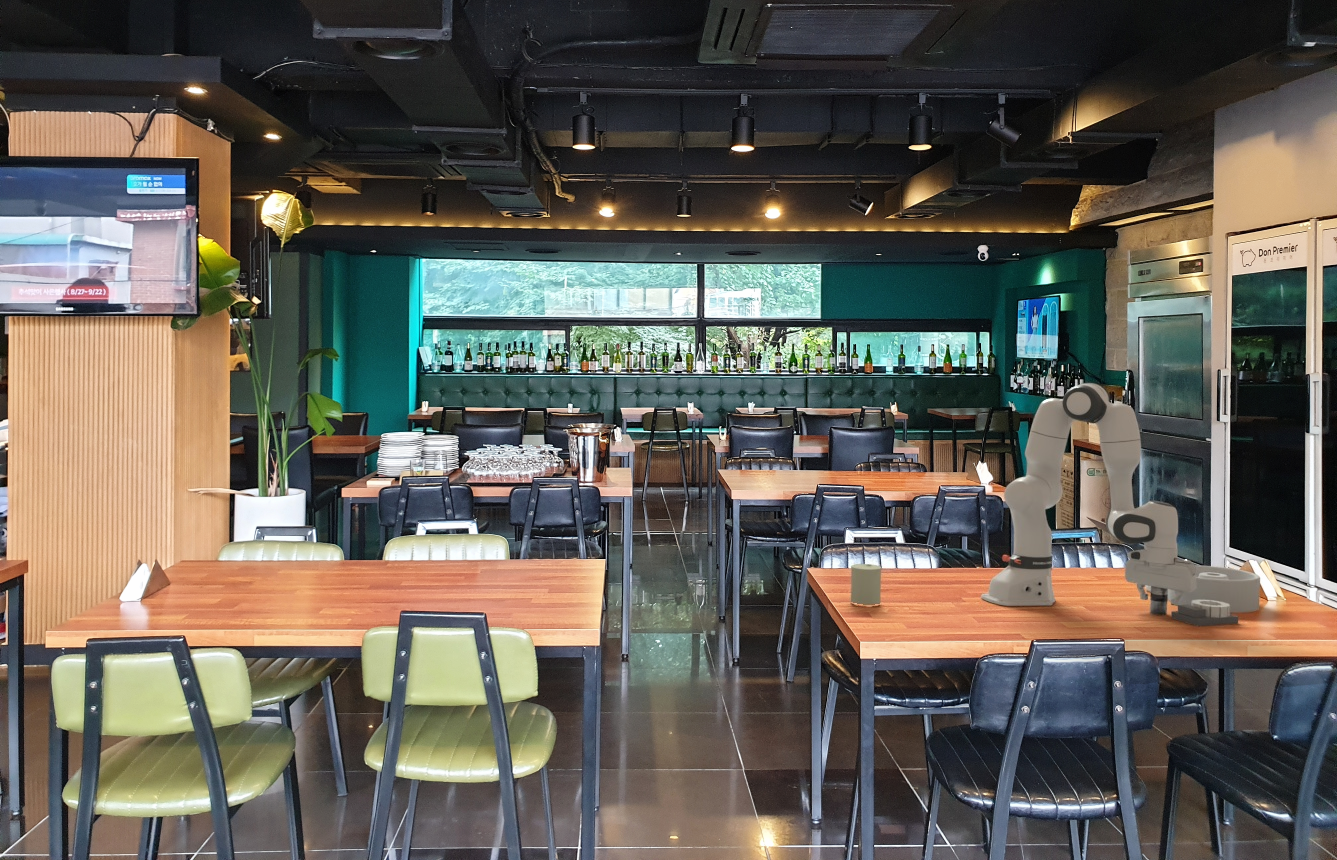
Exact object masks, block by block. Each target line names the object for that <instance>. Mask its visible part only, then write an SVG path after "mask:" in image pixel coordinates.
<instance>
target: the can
mask: <svg viewBox="0 0 1337 860" xmlns="http://www.w3.org/2000/svg"><path fill="white" fill-rule="evenodd" d="M850 569H851V571H850V573H851V574H850V575H851V577H850V579H851V580H850V602H853V603H857V604H863V605H875V604H880V603H881V599H882V598H881V596H882V595H881V594H882V593H881V590H882V589H881V586H882V585H881V584H882V583H881V579H882V566H880V565H877V564H871V563H856V564H852V565H851V566H850ZM881 604H882V603H881Z"/></svg>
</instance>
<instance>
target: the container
mask: <svg viewBox="0 0 1337 860" xmlns="http://www.w3.org/2000/svg"><path fill="white" fill-rule="evenodd" d="M1194 565H1195V566H1196V573H1195V576H1196V590H1195V591H1193V592H1189V593H1187V592H1183V595H1182V597H1181V598H1180V599H1179V605H1191V601H1193V600H1210V601H1211V600H1214V601H1219V602H1224V603H1228V604H1229V605H1230V614H1240V613H1241V614H1243V613H1244V614H1245V613H1251V612H1256V611H1259V609H1260V596H1261V595H1260V593H1261V592H1260V591H1261V589H1260V588H1261V577H1260V575H1259V574H1256V573H1254V572H1251V571H1246V570H1242V569H1236V568H1231V567H1223V566H1212V565H1211V566H1210V565H1196V564H1194ZM1176 595H1177V594H1175V590H1170V589H1168V601H1167V602H1169V603H1171V599H1174V598H1175V597H1176Z"/></svg>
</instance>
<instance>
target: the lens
mask: <svg viewBox="0 0 1337 860" xmlns="http://www.w3.org/2000/svg"><path fill="white" fill-rule="evenodd" d="M1167 592H1168V589H1164V588H1159V587H1153V586H1151V592H1149V593H1150V598H1149V599H1150V605H1149V606H1150V608H1149V609H1150V610H1149V613H1150V614H1151V615H1157V616H1167V615H1168V602H1169V601H1168V594H1167Z"/></svg>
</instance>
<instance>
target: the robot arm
mask: <svg viewBox="0 0 1337 860" xmlns="http://www.w3.org/2000/svg"><path fill="white" fill-rule="evenodd" d="M1075 421H1079V422H1083V423H1088V424H1095V425H1096V426H1097V430H1098V435H1099V442H1100V443H1099V445H1100V446H1099V447H1100V451H1101V456H1102V461H1103V463H1104V467H1105V469H1106V473H1107V477H1108V483H1109V484H1108V485H1109V496H1110V498H1109V499H1110V507H1109V510H1108V513H1107V516H1106V519H1105V527H1106V530H1107V532H1108V534H1109V535H1110V536H1111V537H1112V538H1114V539H1116V540H1118V541H1119V542H1121V543H1123V544H1126V545H1135V544H1136V545H1137V544H1144V546H1143V547H1144V548H1139V549H1136V550H1131V551H1129V552H1128V553H1127V558H1128V560H1127V561H1126V562H1125V569H1124V571H1125V572H1124V578H1125V581H1126V582H1127V583H1131V584H1135V585H1136V589H1137V591H1138V592H1139V593H1140V594H1139V595H1140V600H1144V601H1148V600H1149V593H1147V592H1146V589H1145V585H1147V586H1153V587H1159V588H1164V589H1170V590H1175V594H1177V595H1176V597H1175V598H1174V599H1171V602H1170V605H1171V606H1174V607H1178V605H1179V599H1180V598H1181V597H1182V595H1183V592H1187V593H1189V592H1193V591H1195V590H1196V576H1195V573H1196V566H1197V565H1196V564H1194V563H1193V561H1191V560H1189V559H1182V558H1178V542H1177V537H1178V534H1179V516H1178V511H1177V509H1176V507H1175V506H1173V504H1170V503H1168V502H1165V501H1164V502H1163V501H1159V500H1149V501H1148V502H1147V503H1144V504H1143V505H1141V506H1138V507H1136V508H1135V506H1134V497H1133V484H1132V483H1133V482H1132V481H1133V480H1132V479H1133V475H1134V472H1135V470H1136V468H1137V467H1138V465H1140V462H1141V456H1142V453H1141V452H1142V442H1141V434H1140V433H1141V432H1140V428H1139V423H1138V420H1137V416H1136V413H1135V411H1134V409H1133V407H1132V406H1130V405H1128V404H1125V403H1121V402H1119V403H1118V402H1117V403H1112V402H1111V397H1110V393H1109V391H1108V389H1106V388H1105V386H1103V385H1101V384H1099V383H1095V382H1084V383H1080V384H1078V385H1074V386H1073V387H1071V388H1069V389H1068V390H1067V391H1066V393H1065V394H1064V395H1063V398H1056V397H1054V398H1053V397H1050V398H1048V399H1047V398H1046V399H1045V400H1043V401H1042V402H1041V403H1040V404H1039V406H1038V408H1037V410H1036V413H1035V415H1034V417H1033V420H1032V422H1031V423H1032V424H1031V427H1030V432H1029V436H1028V439H1027V444H1026V448H1025V450H1024V456H1025V458H1026V475H1025V476H1022V477H1018V478H1016V479H1014V480H1012V481H1011V482H1010V483H1008V485H1006V487H1005V489H1004V492H1003V497H1004V498H1003V499H1004V501H1005V503H1006V505H1007V506H1008V507H1009V510H1010V515H1011V521H1012V526H1013V552H1012V554H1011V556H1010V555H1007V554H1003V555H1002V558H1001V559H1002V561H1003V562H1006V563H1008V565H1007V566H1006V567H1005V568H1003V570H1001V571H1000V572H999V573H997V574H996V575H995V576H993V577H992V578H991V580H990V583H989V586H988V587H989V588H988V592H986V593H982V594H981V596H980V597H981V599H982V600H984V601H987V602H989V603H992V604H995V605H1001V606H1005V607H1006V606H1007V607H1018V606H1019V607H1023V606H1024V607H1025V606H1026V607H1027V606H1029V607H1030V606H1031V607H1032V606H1053V605H1054V603H1056V598H1055V592H1054V589H1053V580H1052V579H1053V578H1052V570H1053V556H1052V529H1051V528H1050V526H1049V523H1048V520H1047V514H1046V510H1048V509H1050V508H1053V507H1054V506H1055V505H1056V504H1058V503H1059V502H1060V500H1061V499H1062V497H1063V491H1064V489H1063V485H1062V483H1061V480H1062V462H1063V458H1064V454H1065V450H1066V446H1067V443H1068V438H1069V434H1070V431H1071V428H1072V425H1073V424H1074V422H1075ZM1195 565H1196V566H1195Z"/></svg>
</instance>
